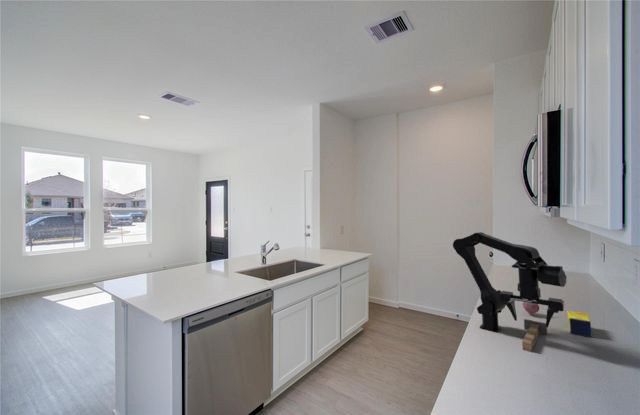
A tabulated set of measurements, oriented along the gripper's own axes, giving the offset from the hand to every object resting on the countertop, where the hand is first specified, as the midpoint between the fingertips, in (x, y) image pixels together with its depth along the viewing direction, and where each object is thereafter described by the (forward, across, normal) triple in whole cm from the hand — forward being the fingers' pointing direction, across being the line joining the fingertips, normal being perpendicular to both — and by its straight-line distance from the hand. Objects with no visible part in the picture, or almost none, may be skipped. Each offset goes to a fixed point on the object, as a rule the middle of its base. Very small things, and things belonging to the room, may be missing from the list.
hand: (531, 323), depth 99 cm
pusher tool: (+7, 0, -2) cm, 7 cm away
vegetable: (+7, +4, -32) cm, 33 cm away
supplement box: (+4, -12, -18) cm, 22 cm away
